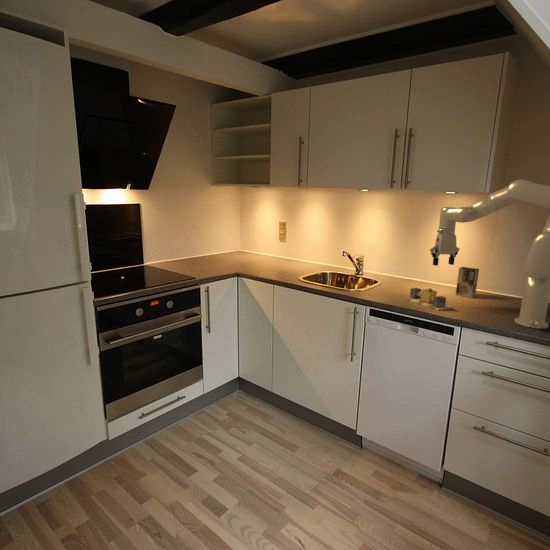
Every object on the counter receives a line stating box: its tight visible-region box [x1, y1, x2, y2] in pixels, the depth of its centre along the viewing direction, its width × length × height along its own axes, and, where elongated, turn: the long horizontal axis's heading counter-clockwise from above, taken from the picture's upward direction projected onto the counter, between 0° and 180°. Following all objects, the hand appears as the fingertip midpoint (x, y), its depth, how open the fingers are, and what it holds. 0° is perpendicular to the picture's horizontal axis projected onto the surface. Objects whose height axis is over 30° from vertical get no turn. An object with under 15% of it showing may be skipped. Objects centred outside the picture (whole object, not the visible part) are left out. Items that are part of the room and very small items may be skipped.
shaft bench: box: [404, 287, 453, 312], centre depth 193 cm, size 21×11×6 cm, turn 28°
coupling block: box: [421, 288, 438, 303], centre depth 192 cm, size 5×5×7 cm
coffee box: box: [455, 266, 480, 299], centre depth 210 cm, size 9×6×16 cm
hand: (443, 264), depth 190 cm, fingers open, 9 cm apart
